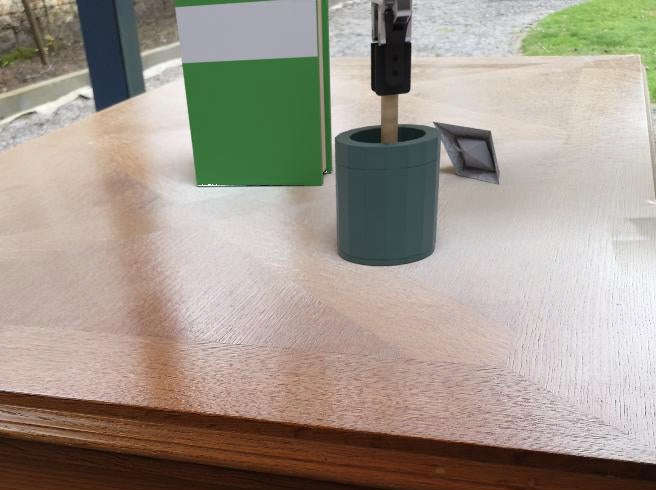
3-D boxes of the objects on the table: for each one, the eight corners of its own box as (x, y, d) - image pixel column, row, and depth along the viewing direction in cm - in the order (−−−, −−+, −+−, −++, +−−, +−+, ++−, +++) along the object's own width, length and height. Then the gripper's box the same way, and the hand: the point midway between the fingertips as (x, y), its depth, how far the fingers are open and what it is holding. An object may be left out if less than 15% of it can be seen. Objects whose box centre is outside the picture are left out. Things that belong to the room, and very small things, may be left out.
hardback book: (332, 171, 110) (327, -37, 95) (321, 185, 104) (314, -34, 90) (213, 173, 114) (191, -26, 100) (197, 186, 108) (171, -23, 94)
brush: (404, 200, 81) (408, 18, 71) (412, 211, 77) (417, 21, 68) (366, 204, 81) (364, 22, 71) (372, 215, 77) (371, 26, 68)
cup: (423, 230, 86) (427, 120, 79) (444, 260, 77) (451, 140, 71) (332, 238, 85) (329, 129, 79) (344, 269, 77) (342, 150, 71)
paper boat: (531, 162, 101) (511, 158, 94) (497, 204, 105) (475, 203, 98) (465, 103, 103) (440, 95, 96) (433, 147, 107) (408, 142, 100)
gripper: (464, -186, 56) (450, 102, 66) (418, -162, 68) (413, 76, 79) (360, -175, 56) (363, 110, 66) (333, -153, 68) (339, 84, 79)
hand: (390, 90), depth 73 cm, fingers closed on brush
